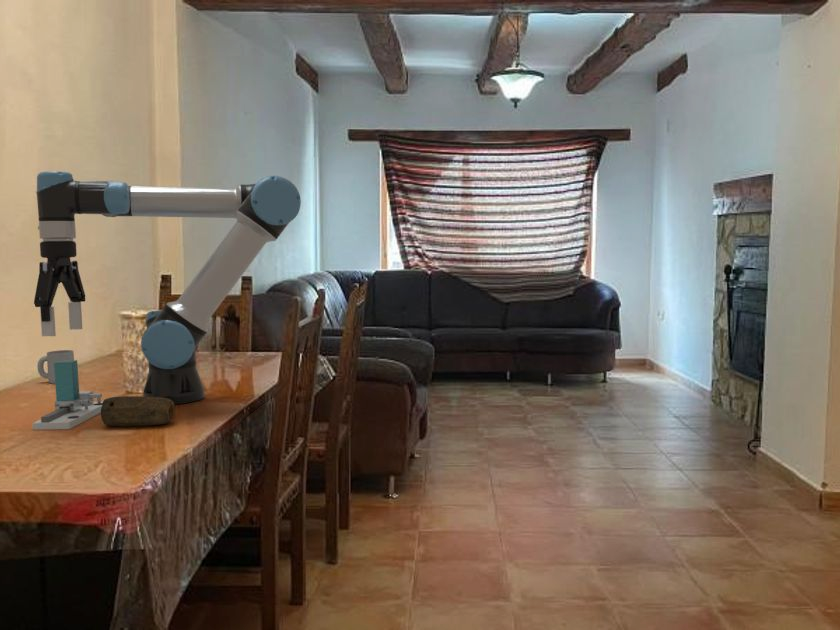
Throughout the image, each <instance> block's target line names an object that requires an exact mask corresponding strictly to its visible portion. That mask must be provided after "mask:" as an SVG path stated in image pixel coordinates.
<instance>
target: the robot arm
mask: <svg viewBox="0 0 840 630" xmlns="http://www.w3.org/2000/svg"><path fill="white" fill-rule="evenodd" d="M35 193H36V200H37V213H38V226H37V229H38V231H39V238H40V239H41V240H42V241H40V243H39V250H40V252H39V253H40V257H41V258H43V259H44V258H45V259H46V261H40V262H39V269H38V270H39V271H38V272H39V274H38V278H37V285H36V288H35V295H34V301H33V304H34V307H35V308H40V309H39V311H40V325H41V326H40V327H41V337H56V319H55V317H56V316H55V306H53V302H54V300H55V296H56V294H57V290H58V288H59V284H62V286H63V289H64V291H65V292H66V295H67V297H68V299H69V302H68V304H67V305H68V319H69V320H68V322H69V331H70V330H83V318H82V317H83V316H82V302H86V293H85V290H84V285H83V282H82V278H81V275H80V271H79V263H78V260H71V258H75V257H77V242H75V240H74V239H76V238H77V232H76V221H75V220H76V219H75V217H76V216H75V215H102V216H104V217H106V218H116V217H150V218H151V217H155V218H156V217H159V218H162V217H163V218H207V219H208V218H211V219H212V218H215V219H218V218H219V219H221V218H222V219H223V218H224V219H235V220H236V222H235V224H234V225H233V226H232V227H231V229H230V230H229V231H228V232H227V234H226V235H225V236H224V238H223V239H222V241H221V242H220V243H219V245H218V246H217V247H216V248H215V250H214V251H213V253H212V254H211V255H210V256H209V257H208V258H207V261H205V263H204V265H203V266H202V267H201V268H200V270H199V271H198V272H197V273H196V275H195V277H193V279H192V281H191V282H190V283H189V284H188V286H187V287H186V288H185V289H184V291H183V292H182V294H181V295H180V296H179V298H178V299H177V300H175V301H169V302H166V304H165V305H164V306H163V308H162V309H161V310H151V311H148V312H147V313H146V316H145V317H146V320H145V325H146V329H145V330H144V332H143V333H142V337H141V341H140V346H141V350H142V354H143V356H144V357H145V359H146V360H147V361H148V373H147V378H146V380H145V384H144V387H143V391H142V396H146V397H161V398H167V399H170V400H172V401H173V402H174V405H181V404H188V403H193V402H197V401H200V400H202V399H204V398H205V396H206V395H205V387H204V385H203V383H202V380H201V377H200V375H199V374H200V373H199V372H198V369H197V359H196V358H197V357H196V356H197V355H196V348H197V347H198V345H199V344H200V343H201V341H202V340H203V339H204V337H205V336H206V334H207V333H209V332H208V331H209V328H208V321H209V320H210V318H211V317H212V316H213V315H214V313H215V312H216V310H217V309H218V308H219V307H220V305H221V304H222V303H223V301H224V300H225V299H226V297H227V296H228V294H229V293H230V291H231V290H232V289H233V288H234V286H236V284H237V282H238V281H239V280H240V279H241V277H242V276H243V274H244V273H245V272H246V271H247V269H248V268H249V267H250V265H251V263H253V261H254V260H255V258H256V257H257V255H258V254H259V253H260V251H262V249H263V248H264V247H265V245H266V244H267V243H269V242H276V241H277V240H278V239H279V237H280V235H281V234H282V233H283V232H284V231H285V229H286V228H287V227H288V225H289V224H290V222H292V221H293V220H294V219H296V217H297V216H298V214H299V212H300V210H301V203H302V201H301V195H300V191H299V190H298V188H297V187H296V185H295V184H294V183H293V182H292V181H291V180H289V179H288V178H285V177H283V176H279V175H269V176H265V177H263V178H262V179H260V180H259V181H257V182H256V183H252V184H238V185H237V186H236V187H235V188H233V187H232V188H230V187H194V186H193V187H192V186H191V187H187V186H185V187H184V186H182V187H181V186H150V185H149V186H142V185H140V186H139V185H128V183H126V182H125V181H115V180H107V181H106V180H103V181H102V180H101V181H100V180H98V181H97V180H96V181H92V180H91V181H80V180H79V181H78V180H74V177H73V174H72V173H71V172H69V171H58V170H57V171H55V170H54V171H53V170H52V171H50V170H48V171H47V170H46V171H40V172H39V173H38V174H37V176H36V191H35ZM231 292H232V291H231Z"/></svg>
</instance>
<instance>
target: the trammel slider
mask: <svg viewBox="0 0 840 630" xmlns="http://www.w3.org/2000/svg"><path fill="white" fill-rule="evenodd" d="M54 368H55V384H54V385H55V397H56V398H55V399H56V400H55V401H54V409H55V410H57V409H60V408H62V407H64V406H70V411H76V410H78V409H80V408H82V404H85V410H88V403H89V400H81V398H80V397H79V391H80V385H79V384H80V382H79V367H78V360H77V359H74V360H61V361H57V362H54ZM55 410H54V411H55Z"/></svg>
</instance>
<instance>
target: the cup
mask: <svg viewBox="0 0 840 630" xmlns="http://www.w3.org/2000/svg"><path fill="white" fill-rule="evenodd" d="M74 355H75V353H74V350H71V349H64V350H61V349H59V350H52V351H47V352H46V355H44V356H41V357H40V358H39V360H38V361H37V371H38V374H39V375H40V377H42V378H43V379H48V383H49V384H53V385H56V384H55V368H54V362H57V361H61V360H75V356H74ZM45 362H47V363H46V365H47V372H46V371H45V369H44V364H45Z"/></svg>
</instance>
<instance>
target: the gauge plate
mask: <svg viewBox="0 0 840 630" xmlns="http://www.w3.org/2000/svg"><path fill="white" fill-rule="evenodd" d="M79 397H80V398H81V400H89V403H88V410H85V404H82V408H80V409H78V410H76V411H70V406H64V407H62V408H60V409H57V410H53V411H51V412H49V413H47V414H44V415H42V416H40V419H38V420H37V421H35V422H32V423H31V424H32V431H43V430H44V431H46V430H47V431H48V430H49V431H50V430H51V431H52V430H53V431H54V430H55V431H56V430H57V431H58V430H71V429H73V428H75V427H76V426H78V425H80V424H83V423H84V422H86V421H88V420H89V419H92V418H93V417H95V416H97V415H99V414H101V408H102V404H103V401H101V398H102V397H103V395H102V393H94V391H93V390H84V391H83V390H82V391H80V390H79ZM94 399H97V401H94Z"/></svg>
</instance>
